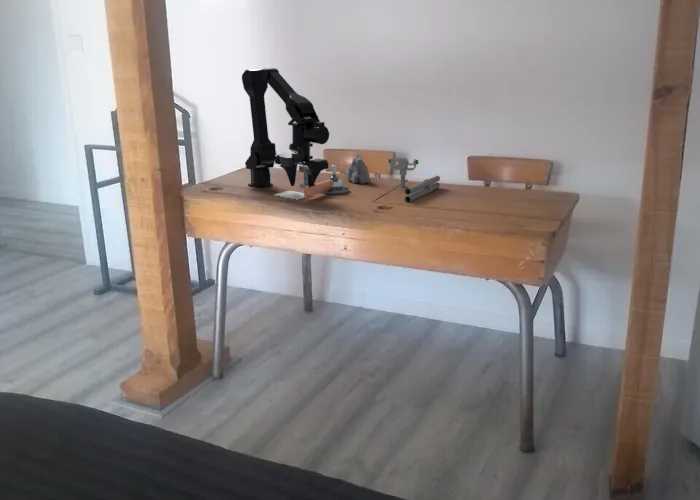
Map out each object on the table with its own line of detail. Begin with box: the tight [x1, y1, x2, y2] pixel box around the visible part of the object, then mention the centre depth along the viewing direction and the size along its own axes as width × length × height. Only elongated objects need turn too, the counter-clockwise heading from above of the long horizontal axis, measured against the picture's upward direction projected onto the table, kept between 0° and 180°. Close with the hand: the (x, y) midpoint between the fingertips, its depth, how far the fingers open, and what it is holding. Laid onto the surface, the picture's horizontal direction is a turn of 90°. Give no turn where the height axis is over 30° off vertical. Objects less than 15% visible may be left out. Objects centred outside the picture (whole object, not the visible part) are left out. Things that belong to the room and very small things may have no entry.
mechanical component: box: [388, 157, 419, 188], centre depth 245 cm, size 3×10×10 cm, turn 78°
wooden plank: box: [303, 164, 344, 198], centre depth 231 cm, size 20×6×8 cm, turn 150°
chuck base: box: [321, 185, 350, 196], centre depth 238 cm, size 10×10×1 cm
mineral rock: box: [346, 153, 371, 185], centre depth 255 cm, size 13×11×10 cm
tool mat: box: [274, 190, 312, 201], centre depth 231 cm, size 10×7×1 cm
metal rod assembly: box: [404, 175, 441, 203], centre depth 234 cm, size 26×3×5 cm, turn 151°
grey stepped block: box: [298, 165, 317, 188], centre depth 245 cm, size 7×4×7 cm, turn 53°
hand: (301, 187), depth 231 cm, fingers open, 7 cm apart
